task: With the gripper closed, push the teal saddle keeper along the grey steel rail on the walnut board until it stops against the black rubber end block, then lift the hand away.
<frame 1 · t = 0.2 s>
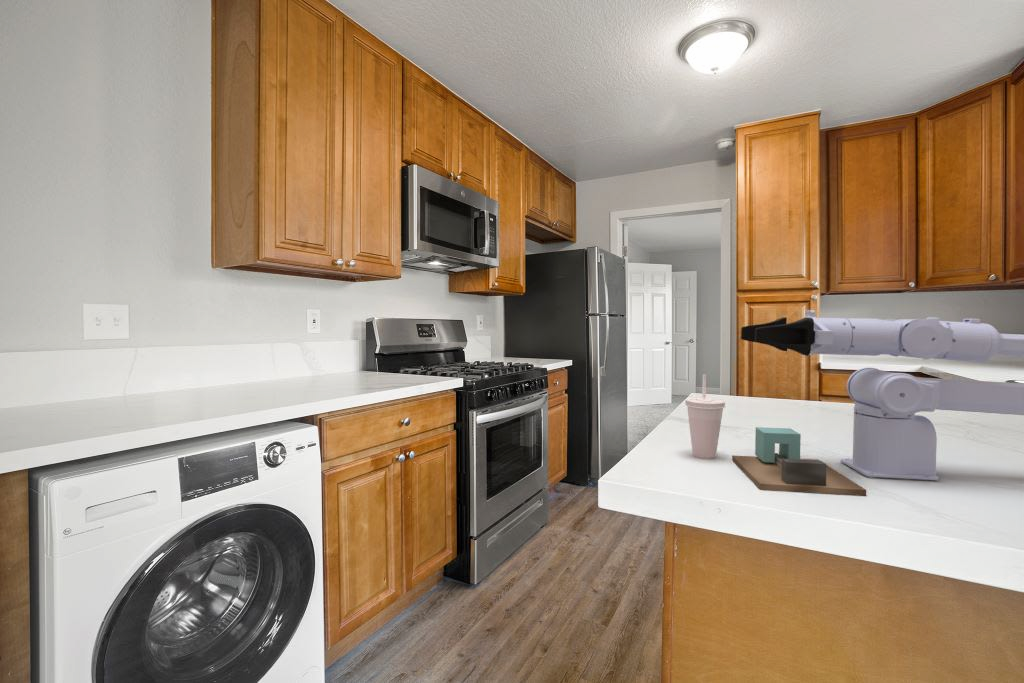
hand: (748, 334, 75), 21 cm above the countertop, tool horizontal, fingers open, 7 cm apart
rail board: (791, 475, 70), on the countertop
smoothie: (704, 456, 81), on the countertop
keeper: (777, 444, 74), point 4 cm above the countertop, slide at 0.0 cm
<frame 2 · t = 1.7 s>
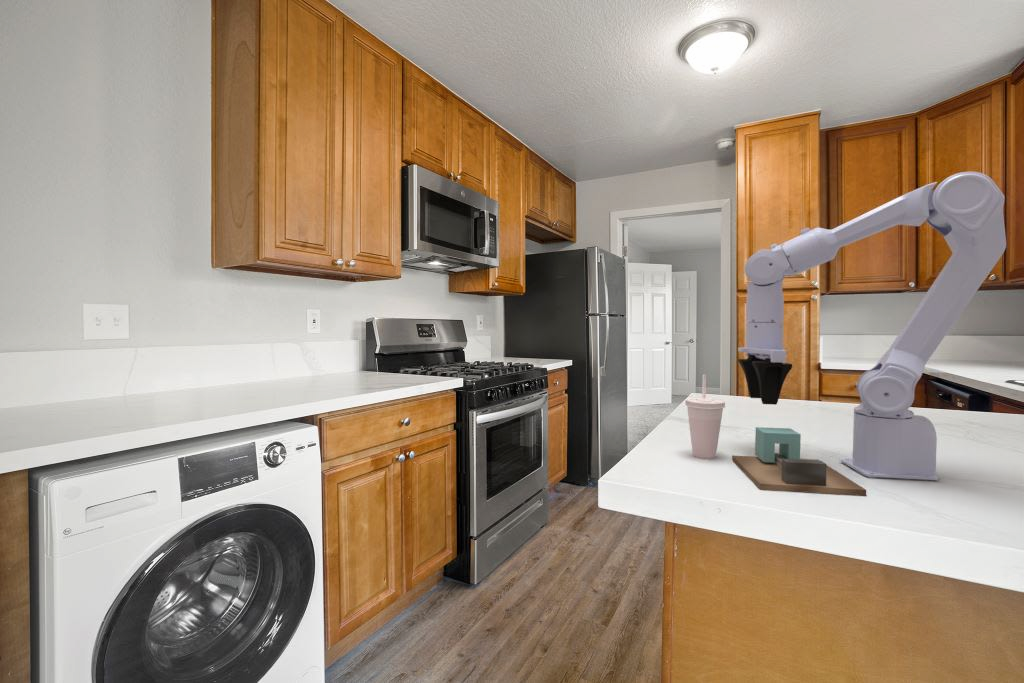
hand: (762, 400, 81), 9 cm above the countertop, tool pointing down, fingers open, 6 cm apart
nothing on the countertop moved.
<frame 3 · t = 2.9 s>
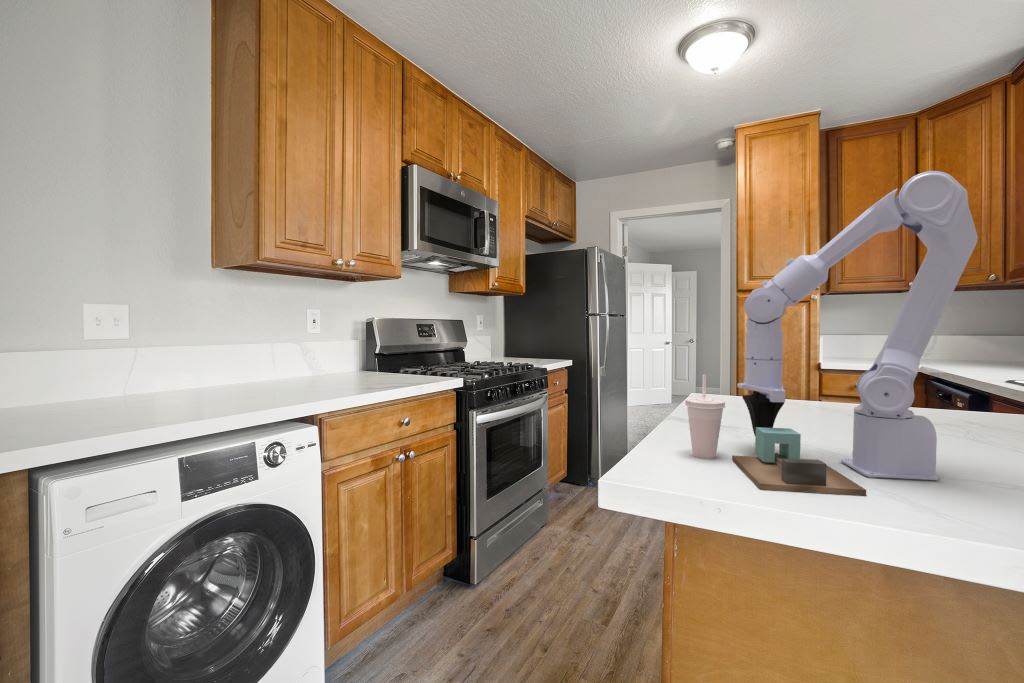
hand: (762, 436, 81), 3 cm above the countertop, tool pointing down, fingers closed
nothing on the countertop moved.
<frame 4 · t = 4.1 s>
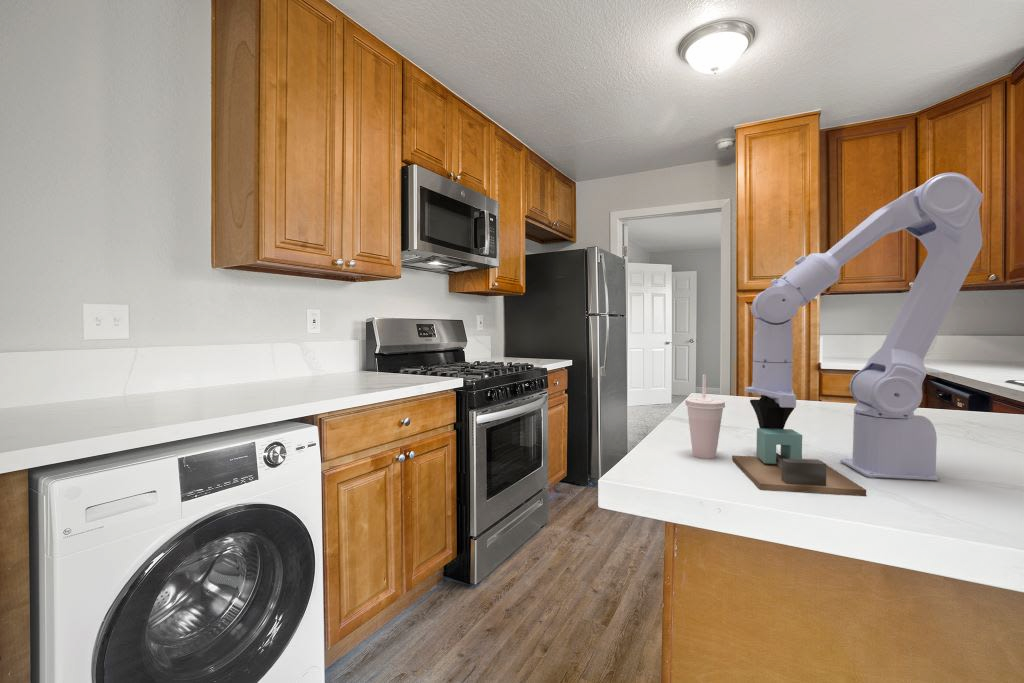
hand: (770, 443, 77), 3 cm above the countertop, tool pointing down, fingers closed
keeper: (778, 445, 74), point 4 cm above the countertop, slide at 0.6 cm, touching gripper
everything else where it was.
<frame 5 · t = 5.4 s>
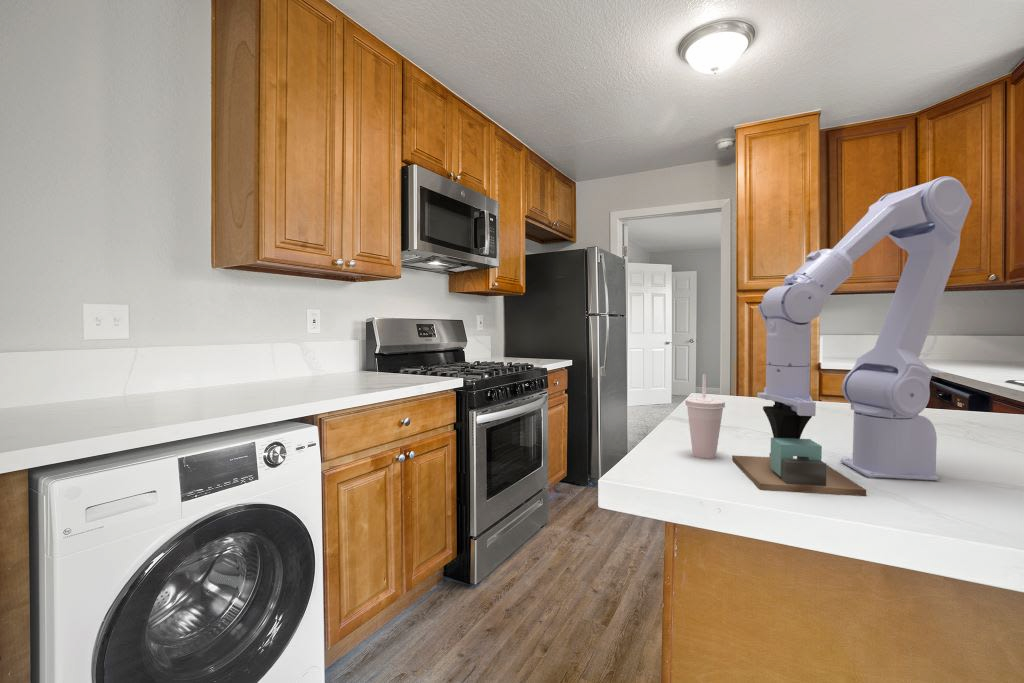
hand: (785, 454, 71), 3 cm above the countertop, tool pointing down, fingers closed
keeper: (795, 457, 67), point 4 cm above the countertop, slide at 7.0 cm, touching gripper
everything else where it was.
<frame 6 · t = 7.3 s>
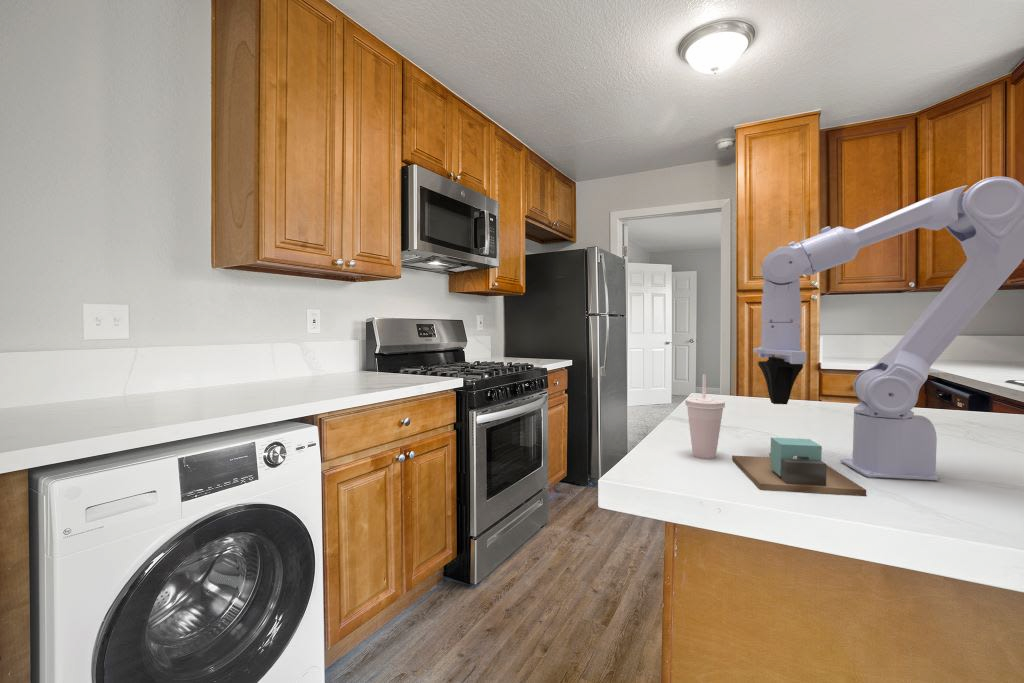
hand: (779, 403, 78), 9 cm above the countertop, tool pointing down, fingers closed
keeper: (795, 457, 67), point 4 cm above the countertop, slide at 7.0 cm
everything else where it was.
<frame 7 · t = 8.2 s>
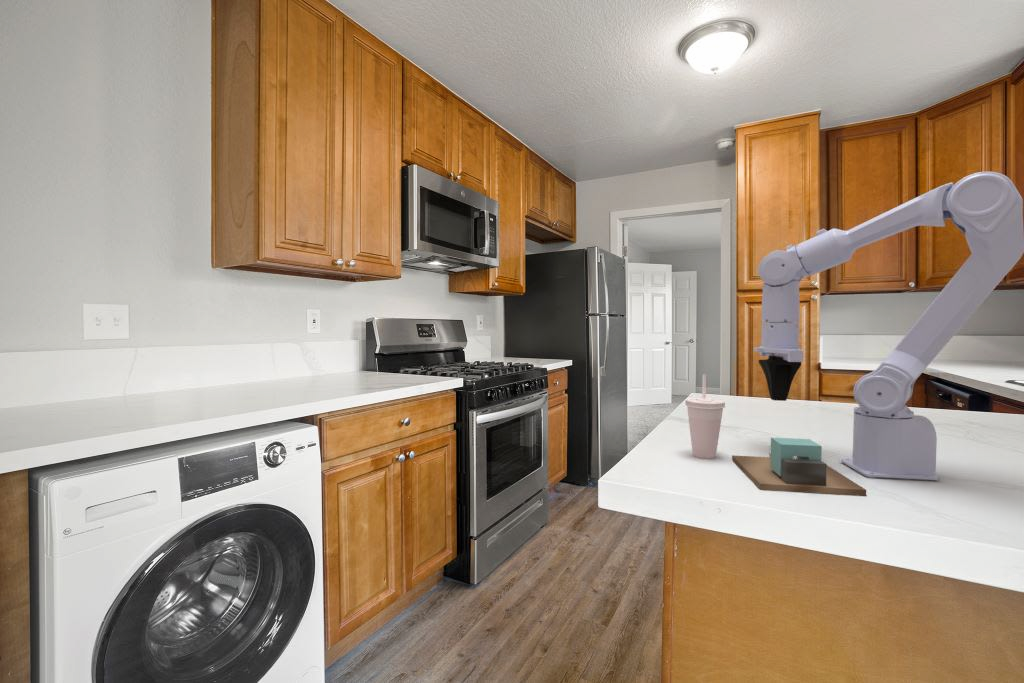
hand: (778, 400, 82), 9 cm above the countertop, tool pointing down, fingers closed
nothing on the countertop moved.
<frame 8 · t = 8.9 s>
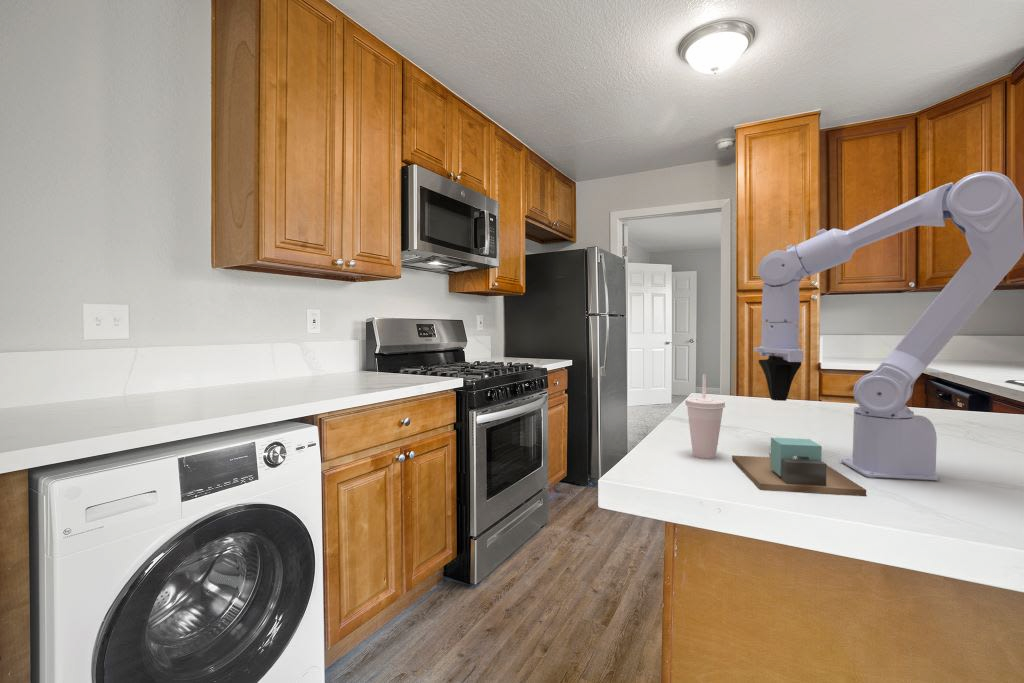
hand: (778, 400, 82), 9 cm above the countertop, tool pointing down, fingers closed
nothing on the countertop moved.
at the end: keeper slide at 7.0 cm; keeper 0.0 cm from the target spot, resting on rail board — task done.
